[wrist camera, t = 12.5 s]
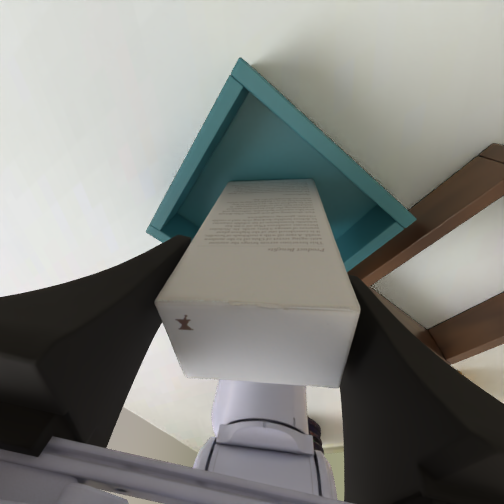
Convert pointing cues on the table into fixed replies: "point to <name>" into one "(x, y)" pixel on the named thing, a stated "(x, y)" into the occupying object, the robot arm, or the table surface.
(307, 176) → the bin
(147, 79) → the table surface
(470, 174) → the frame
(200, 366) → the cosmetic box
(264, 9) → the table surface
